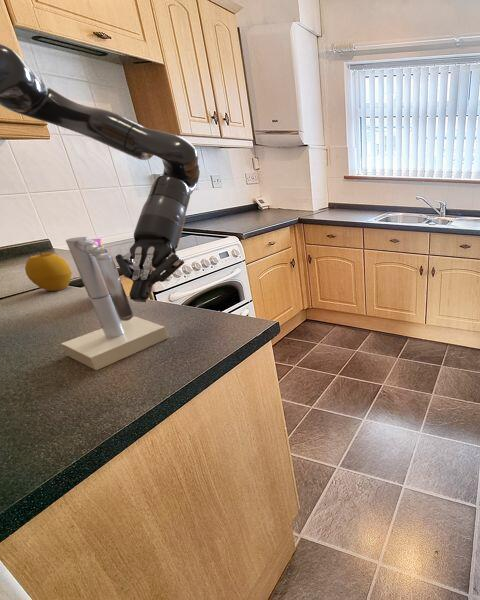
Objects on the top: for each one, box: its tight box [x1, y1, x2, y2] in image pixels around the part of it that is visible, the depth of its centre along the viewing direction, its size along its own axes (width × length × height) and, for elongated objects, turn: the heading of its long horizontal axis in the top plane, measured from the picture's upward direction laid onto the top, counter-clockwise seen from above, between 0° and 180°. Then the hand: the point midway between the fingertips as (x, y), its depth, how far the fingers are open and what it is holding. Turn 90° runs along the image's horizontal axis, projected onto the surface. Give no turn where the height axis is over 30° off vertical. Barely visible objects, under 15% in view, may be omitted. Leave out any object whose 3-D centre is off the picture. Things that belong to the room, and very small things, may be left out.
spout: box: [65, 236, 134, 321], centre depth 64 cm, size 15×3×14 cm, turn 56°
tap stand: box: [61, 294, 169, 371], centre depth 71 cm, size 14×12×12 cm
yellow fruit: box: [24, 252, 72, 292], centre depth 103 cm, size 10×10×12 cm
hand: (137, 300), depth 64 cm, fingers closed
